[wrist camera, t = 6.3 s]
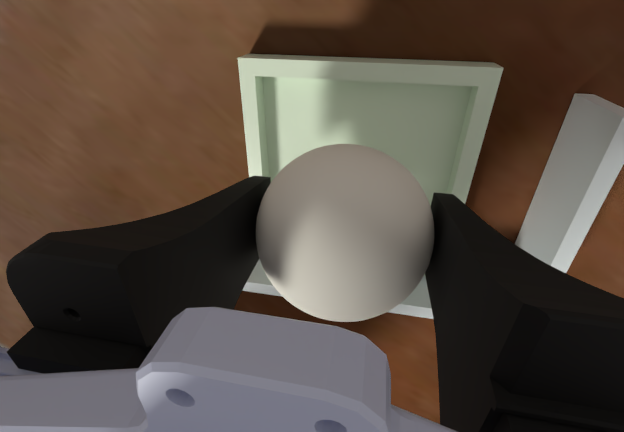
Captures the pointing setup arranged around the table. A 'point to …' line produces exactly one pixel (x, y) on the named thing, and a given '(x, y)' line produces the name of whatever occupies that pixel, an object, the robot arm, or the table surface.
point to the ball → (345, 232)
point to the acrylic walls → (547, 194)
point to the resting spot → (369, 112)
